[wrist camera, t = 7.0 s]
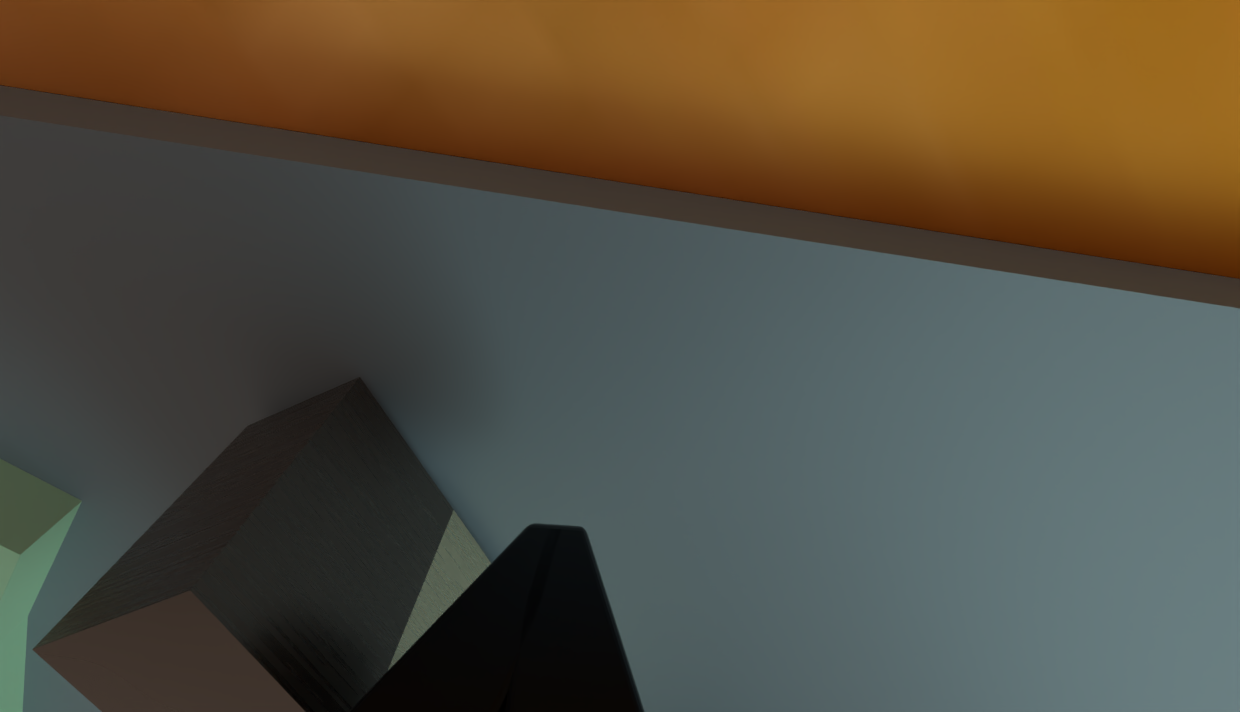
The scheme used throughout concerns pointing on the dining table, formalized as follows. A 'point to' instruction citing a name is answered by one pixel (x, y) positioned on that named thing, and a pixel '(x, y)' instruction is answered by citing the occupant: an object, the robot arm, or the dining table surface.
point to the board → (638, 409)
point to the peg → (275, 573)
